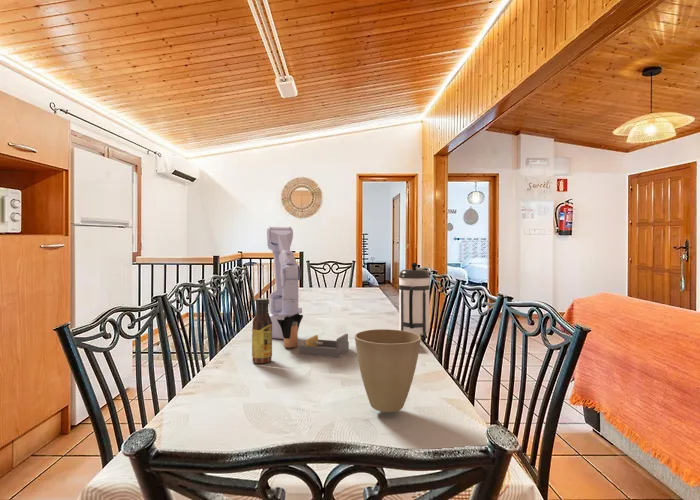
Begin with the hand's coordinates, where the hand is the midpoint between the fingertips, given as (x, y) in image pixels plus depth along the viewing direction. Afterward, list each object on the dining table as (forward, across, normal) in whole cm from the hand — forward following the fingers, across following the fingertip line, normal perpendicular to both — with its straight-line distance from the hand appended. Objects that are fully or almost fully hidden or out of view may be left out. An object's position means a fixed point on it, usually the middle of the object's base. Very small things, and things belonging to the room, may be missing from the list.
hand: (290, 336), depth 139 cm
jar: (+3, 0, 0) cm, 3 cm away
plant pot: (+4, -38, -45) cm, 59 cm away
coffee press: (+4, +32, -39) cm, 51 cm away
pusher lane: (+4, 0, -13) cm, 14 cm away
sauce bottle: (+4, -17, +1) cm, 18 cm away
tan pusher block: (+4, 0, -8) cm, 10 cm away
